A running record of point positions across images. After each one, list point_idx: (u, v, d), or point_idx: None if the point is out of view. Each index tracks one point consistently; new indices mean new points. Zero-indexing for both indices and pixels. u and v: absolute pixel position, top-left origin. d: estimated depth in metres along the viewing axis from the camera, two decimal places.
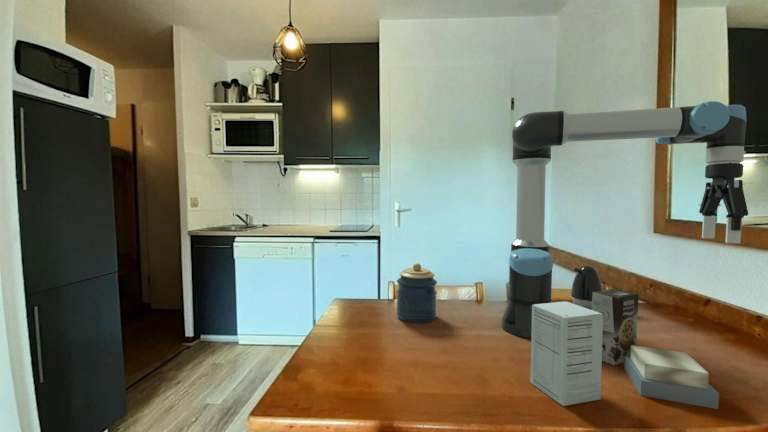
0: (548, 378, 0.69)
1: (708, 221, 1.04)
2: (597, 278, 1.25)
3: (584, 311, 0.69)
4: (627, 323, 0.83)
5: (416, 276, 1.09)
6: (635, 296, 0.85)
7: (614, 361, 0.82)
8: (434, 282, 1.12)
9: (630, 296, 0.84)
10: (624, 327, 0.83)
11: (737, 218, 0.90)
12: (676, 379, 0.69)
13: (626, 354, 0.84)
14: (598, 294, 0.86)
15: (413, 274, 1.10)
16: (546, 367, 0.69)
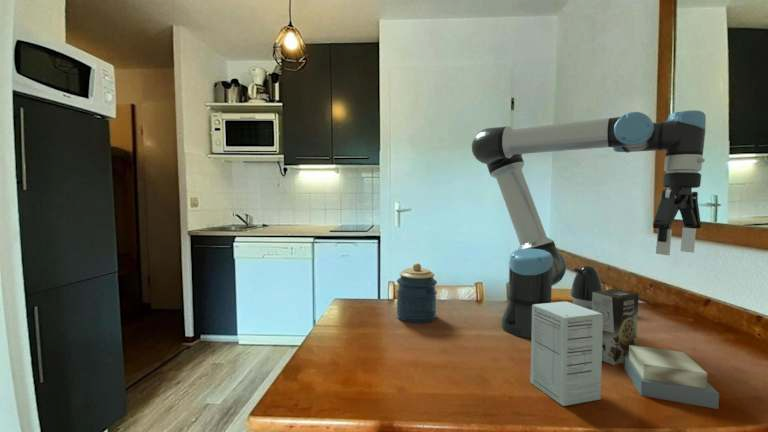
0: (548, 378, 0.69)
1: (686, 233, 0.96)
2: (597, 278, 1.25)
3: (584, 311, 0.69)
4: (627, 323, 0.83)
5: (416, 276, 1.09)
6: (635, 296, 0.85)
7: (614, 361, 0.82)
8: (434, 282, 1.12)
9: (630, 296, 0.84)
10: (624, 327, 0.83)
11: (661, 229, 0.89)
12: (674, 379, 0.69)
13: (626, 354, 0.84)
14: (598, 294, 0.86)
15: (413, 274, 1.10)
16: (546, 367, 0.69)
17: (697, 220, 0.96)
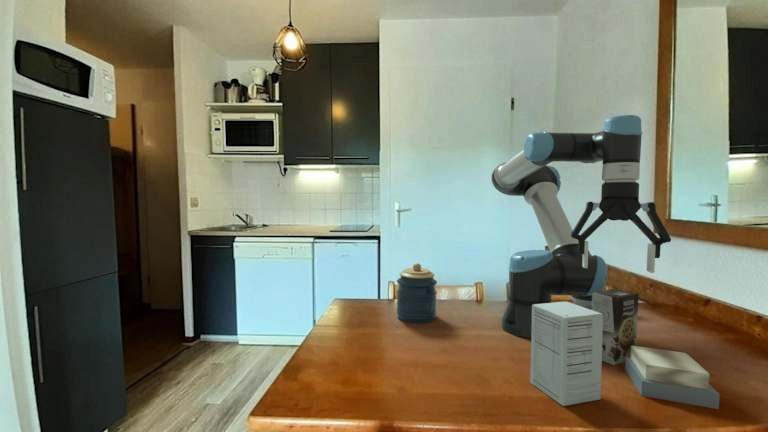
0: (548, 378, 0.69)
1: (648, 250, 0.84)
2: None
3: (584, 311, 0.69)
4: (627, 323, 0.83)
5: (416, 276, 1.09)
6: (635, 296, 0.85)
7: (614, 361, 0.82)
8: (434, 282, 1.12)
9: (630, 296, 0.84)
10: (624, 327, 0.83)
11: (578, 241, 0.89)
12: (677, 380, 0.68)
13: (626, 354, 0.84)
14: (598, 294, 0.86)
15: (413, 274, 1.10)
16: (546, 367, 0.69)
17: (662, 235, 0.81)
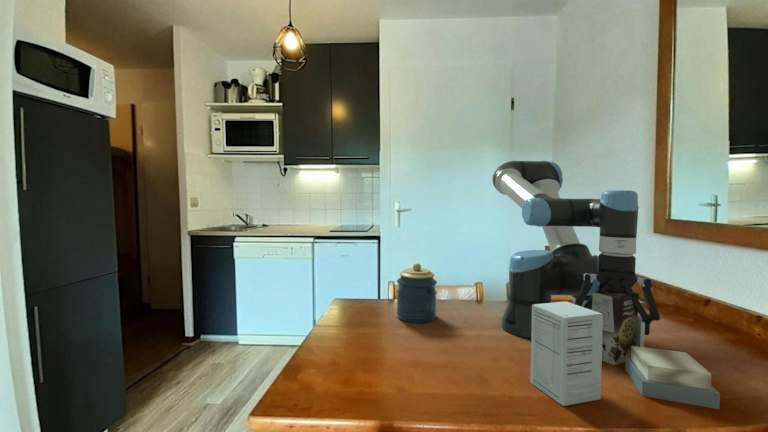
0: (548, 378, 0.69)
1: (638, 326, 0.85)
2: None
3: (584, 311, 0.69)
4: (627, 323, 0.83)
5: (416, 276, 1.09)
6: None
7: (614, 361, 0.82)
8: (434, 282, 1.12)
9: (630, 296, 0.84)
10: (624, 327, 0.83)
11: None
12: (679, 380, 0.68)
13: (626, 354, 0.84)
14: (598, 294, 0.86)
15: (413, 274, 1.10)
16: (546, 367, 0.69)
17: (652, 313, 0.83)
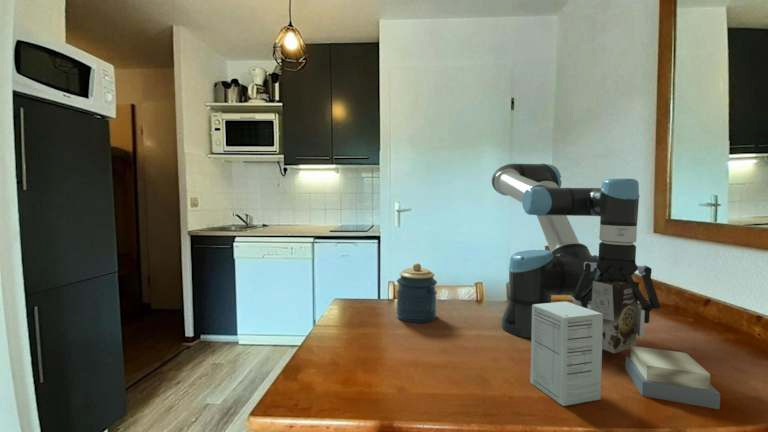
0: (548, 378, 0.69)
1: (638, 314, 0.85)
2: None
3: (584, 311, 0.69)
4: (627, 311, 0.84)
5: (416, 276, 1.09)
6: None
7: (614, 349, 0.83)
8: (434, 282, 1.12)
9: None
10: (624, 315, 0.83)
11: (581, 303, 0.89)
12: (678, 381, 0.68)
13: (626, 342, 0.84)
14: (598, 283, 0.86)
15: (413, 274, 1.10)
16: (546, 367, 0.69)
17: (652, 301, 0.83)
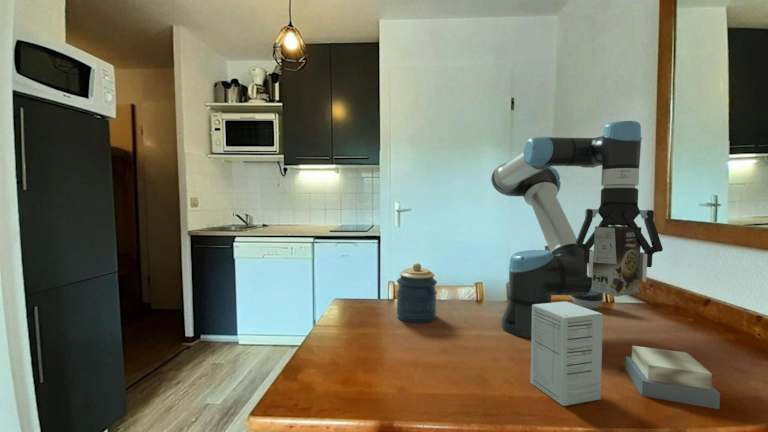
0: (548, 378, 0.69)
1: (641, 259, 0.84)
2: None
3: (584, 311, 0.69)
4: (629, 255, 0.83)
5: (416, 276, 1.09)
6: None
7: (616, 292, 0.82)
8: (434, 282, 1.12)
9: None
10: (627, 258, 0.82)
11: (583, 250, 0.88)
12: (679, 380, 0.68)
13: (628, 287, 0.84)
14: (600, 227, 0.85)
15: (413, 274, 1.10)
16: (546, 367, 0.69)
17: (654, 244, 0.82)
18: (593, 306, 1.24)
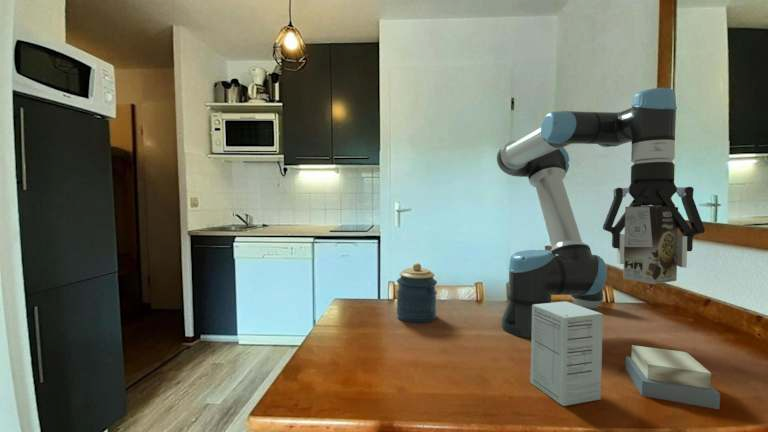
0: (548, 378, 0.69)
1: (679, 243, 0.75)
2: None
3: (584, 311, 0.69)
4: (666, 238, 0.74)
5: (416, 276, 1.09)
6: None
7: (653, 279, 0.72)
8: (434, 282, 1.12)
9: None
10: (664, 241, 0.73)
11: (612, 234, 0.79)
12: (678, 379, 0.69)
13: (666, 273, 0.74)
14: (632, 207, 0.76)
15: (413, 274, 1.10)
16: (546, 367, 0.69)
17: (695, 225, 0.73)
18: (593, 306, 1.24)
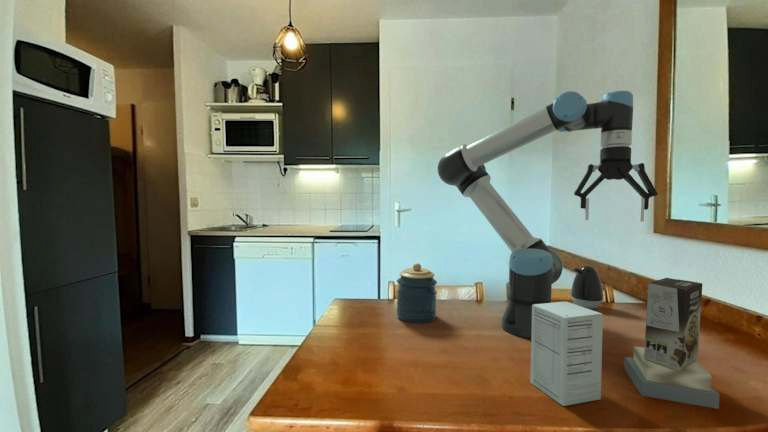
0: (548, 378, 0.69)
1: (639, 204, 1.01)
2: (597, 278, 1.25)
3: (584, 311, 0.69)
4: (692, 320, 0.69)
5: (416, 276, 1.09)
6: (699, 286, 0.70)
7: (679, 366, 0.68)
8: (434, 282, 1.12)
9: (696, 287, 0.69)
10: (690, 324, 0.68)
11: (581, 198, 1.06)
12: (678, 381, 0.68)
13: (690, 356, 0.70)
14: (657, 285, 0.70)
15: (413, 274, 1.10)
16: (546, 367, 0.69)
17: (650, 190, 0.99)
18: (593, 306, 1.24)
